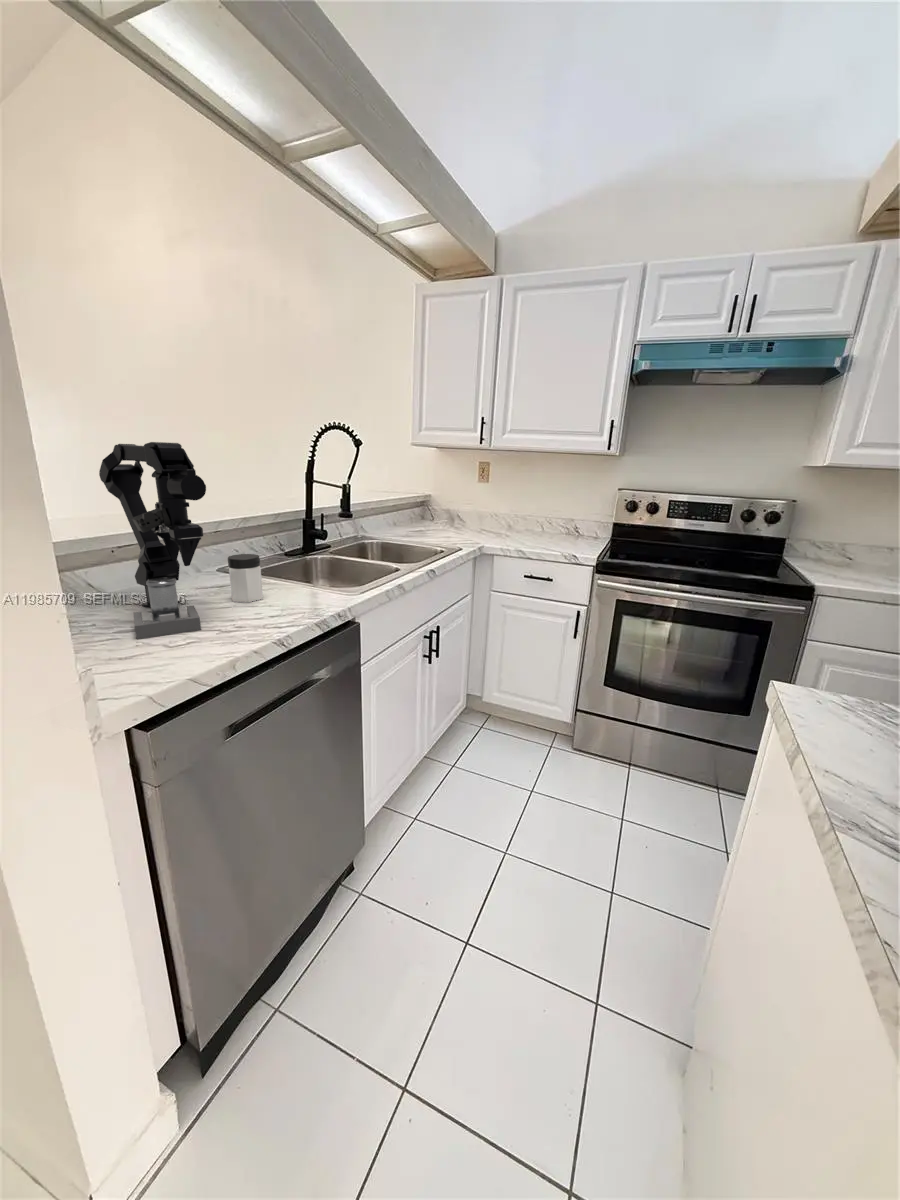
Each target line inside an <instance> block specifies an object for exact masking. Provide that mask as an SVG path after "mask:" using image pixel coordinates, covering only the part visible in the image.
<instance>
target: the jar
mask: <svg viewBox="0 0 900 1200" xmlns="http://www.w3.org/2000/svg"><path fill="white" fill-rule="evenodd" d="M227 566H228V573H229V574H228V575H229V583H230V584H229V585H230V591H231V600H232V602H233V603H246V602H249V603H252V601H253V602H257V601H260V599H261V600H264V594H263V593H264V592H263V580H262V579H263V578H262V571H261V570H262V569H261V559H260V556H259V555H258V554H254V553H241V554H240V553H239V554H232V555H229V556H228V557H227ZM256 600H257V601H256Z"/></svg>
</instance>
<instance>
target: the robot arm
mask: <svg viewBox="0 0 900 1200" xmlns="http://www.w3.org/2000/svg"><path fill="white" fill-rule="evenodd" d="M122 461H123V462H124V461H125V462H126V461H128V462H129V461H131V462H132V461H133V462H134V465H133V464H131V463H122ZM141 462H142V463H143V462H144V463H145V464H146V465H147V466H148V467H151V468H152V469H153V470H154V471H153V472H151V477H152V478H154V479H155V485H156V486H155V487H156V492H157V499H158V500H157V502H155V503H154V504H155V506H154V509H152V510H147V507H146V505H145V503H144V501H143V498H142V496H141V494H140V490H141V487H142V484H143V482H142V476H143V474H144V468H143V467H142V464H141ZM194 467H195V466H194V463H193V462H192V461H191V460H190V457H189V456H188V454H187V452H186V450H185V449H184V448H183V446H182V444H181V443H179V442H161V441H160V442H159V441H149V442H147V443H144V444H143V445H138V444H133V443H117V444H115V445H114V447H113V449H112V452H110V453H109V454H108V455H106V456H105V458H103V459H102V462H101V464H100V468H99V472H98V473H99V474H98V475H99V478H100V481H101V482H102V483H103V485H104V486H105V489H106V490H107V492H109V493H110V494H111V495H113V496H114V497H115V498H116V499H118V500H119V502H120V504H121V506H122V509H123V511H124V513H125V516H126V518H127V520H128V523H129V526H130V527H131V530H132V532H133V535H134V537H135V540H136V541H137V544H138V546H139V548H140V551H139V554H138V558H137V563H138V567H137V568H136V569H137V570H136V572H135V574H134V578H135V582H136V584H137V585H140V586H144V591H145V596H146V602H145V603H144V602H143V603H141V606H142V607H147V608H151V605H150V598H149V591H148V586H147V585H146V581H148V580H150V579H155V578H175V579H176V582H177V581H179V578H180V567H181V566H180V563H179V560H178V557H179V554H180V557H181V560H182V563H183V566H185V567H189V566H190V565H191V563H192V560H193V559H194V555H195V553H196V550H197V547H198V545H199V543H200V541H201V540H202V537H204V530H203V527H201V526H200V524H197V523H194V522H192V519H189V516H188V508H189V507H190V502H188V501H199V500H201V499H202V498H204V496H205V495H206V493H207V492H206V491H207V486H206V485H207V484H205V482H204V480H203V478H201V477H200V476H199V475H197V474H196V473H197V471H196V469H195V468H194ZM160 538H161V539H162V541H163V543H164V544H163V543H162V542H161V540H160ZM180 603H181V601H180V600H178V604H180Z"/></svg>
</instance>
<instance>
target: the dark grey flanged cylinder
mask: <svg viewBox="0 0 900 1200" xmlns="http://www.w3.org/2000/svg"><path fill="white" fill-rule="evenodd" d="M176 584H177V581H176V579H175V578H155V579H150V580H148V581H146V585H147V586H148V591H149V598H150V605H151V607H150V612H151V617H152V622H154V621H160V618H159V615H164V614H172V613H175V619H177V618H181V615H180V607H179V603H178V601H179V600H178V593H177V585H176Z"/></svg>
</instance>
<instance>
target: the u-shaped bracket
mask: <svg viewBox="0 0 900 1200" xmlns="http://www.w3.org/2000/svg"><path fill="white" fill-rule="evenodd" d="M185 607H186V613H187V616H184V617H180V618H177V619H175V613H172V614H164V615H159V618H160V621H154V622H153V621H147V622H144V620H143V619H144V618H143V614H142V611H136V612H135V611H134V612H133V621H134V630H135V635H136V636H135V637H136V640H141V639H148V638H154V637H155V638H157V637H162V636H169V635H175V634H182V633H183V634H184V633H189V632H195V631H202V626H201V625H202V624H201V617H200V616H199V613H198V611H197V609H196V607H195V605H193V604H192V605H186V606H185Z"/></svg>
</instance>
